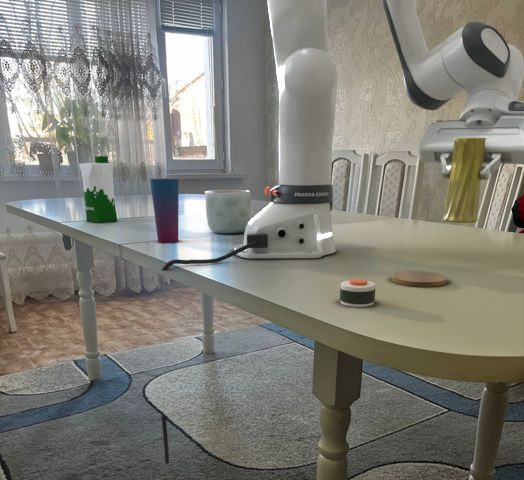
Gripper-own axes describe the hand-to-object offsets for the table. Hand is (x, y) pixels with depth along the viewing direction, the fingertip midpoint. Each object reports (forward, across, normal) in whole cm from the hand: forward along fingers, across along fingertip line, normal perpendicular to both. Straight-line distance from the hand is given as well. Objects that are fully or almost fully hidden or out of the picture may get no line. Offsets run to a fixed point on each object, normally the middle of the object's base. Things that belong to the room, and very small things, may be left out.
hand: (464, 176), depth 97 cm
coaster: (+22, -2, +1) cm, 22 cm away
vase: (+5, 0, +6) cm, 8 cm away
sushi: (+35, -5, -12) cm, 38 cm away
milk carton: (-1, -117, +26) cm, 120 cm away
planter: (-1, -66, +25) cm, 70 cm away
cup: (+14, -69, +10) cm, 71 cm away
